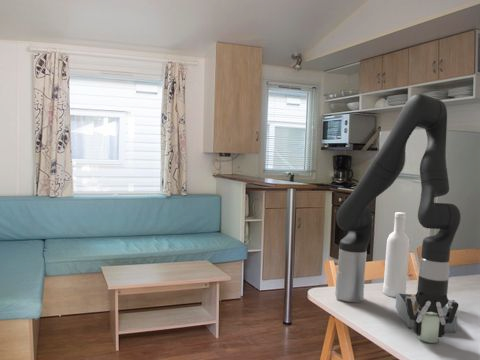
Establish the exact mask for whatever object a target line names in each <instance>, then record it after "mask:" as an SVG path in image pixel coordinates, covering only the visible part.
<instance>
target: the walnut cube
mask: <svg viewBox="0 0 480 360" xmlns="http://www.w3.org/2000/svg"><path fill="white" fill-rule="evenodd" d="M410 294H411V297H412V296H415V295H416V293H410ZM418 306H419V304H418V302H417V301H415V302H414V305H412V307H413V311H415V312H417V308H418Z"/></svg>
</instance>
